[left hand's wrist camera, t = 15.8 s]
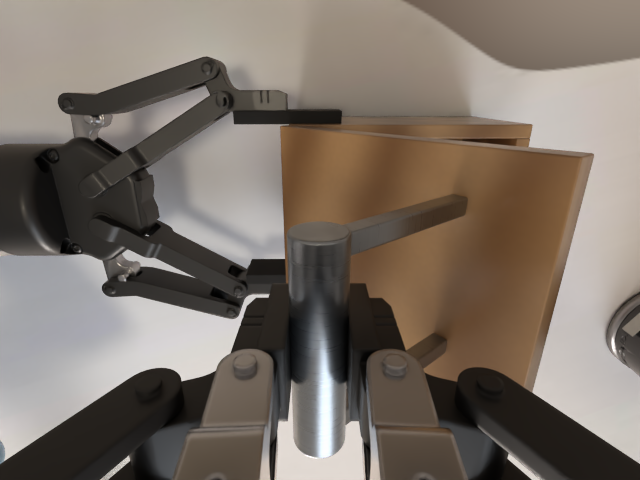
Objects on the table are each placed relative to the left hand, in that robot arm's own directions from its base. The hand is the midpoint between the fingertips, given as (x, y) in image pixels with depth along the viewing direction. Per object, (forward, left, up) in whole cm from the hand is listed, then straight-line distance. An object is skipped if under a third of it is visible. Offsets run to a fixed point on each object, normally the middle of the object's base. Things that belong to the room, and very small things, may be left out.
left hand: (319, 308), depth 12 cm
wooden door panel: (-3, +1, -6) cm, 7 cm away
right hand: (-1, +1, -14) cm, 14 cm away
